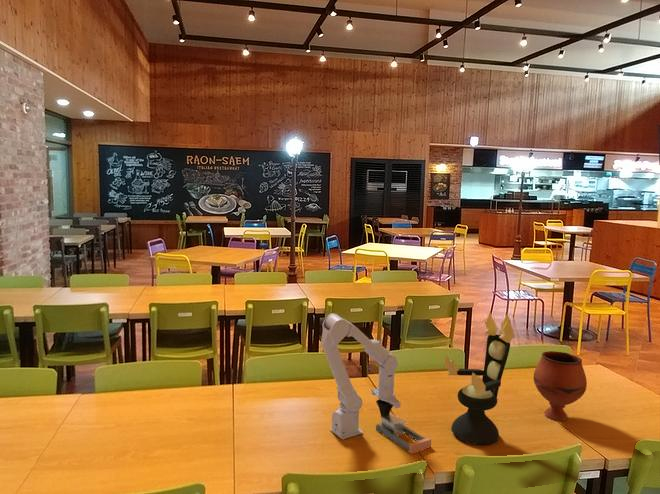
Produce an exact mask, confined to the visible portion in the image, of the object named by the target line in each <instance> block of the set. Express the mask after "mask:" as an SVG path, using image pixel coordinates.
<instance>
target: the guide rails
mask: <svg viewBox="0 0 660 494" xmlns="http://www.w3.org/2000/svg"><path fill="white" fill-rule="evenodd" d="M377 430H378V431H379V432H378V431H377ZM375 431H377V432H378V433H380V432H381V433H382V434H381V433H380V434H381V435H383V434H384V435H385V436H384V435H383V436H384V437H386V436H387V437H388V438H387V437H386V438H387V439H389V438H390V439H391V440H390V439H389V440H390V441H392V440H393V441H394V442H393V441H392V442H393V443H395V442H396V443H397V444H396V443H395V444H396V445H398V444H399V445H400V446H399V445H398V446H399V447H401V446H402V447H403V448H402V447H401V448H402V449H404V448H405V449H406V450H408V451H409V452H410V453H409V452H408V451H407V452H408V453H409V454H411V453H414V454H416V453H415V452H417V451H419V452H421V451H420V450H422V449H425V448H428V447H430V446H431V447H432V438H430V437H426V438H425V437H424V436H422V435H421V434H419V433H417V432H415V431H414V430H413V429H411V428H409V427H407V426H406V425H404V432H405V433H406V434H405V433H404V434H405V435H407V434H408V435H410V436H411V437H413V438H415V439H416V440H418V441H416V440H415V441H414V442H411V443H409V442H407V441H405V440H404V439H402V438H401V437H400V436H396V435H395V434H393V433H392V432H390V431H389V430H387V429H386V428H384V427H382V426H381V424H380V423H379V424H376V426H375ZM408 435H407V436H408ZM410 436H409V437H410ZM411 437H410V438H411ZM413 438H412V439H413ZM405 449H404V450H405ZM428 449H429V448H428ZM406 450H405V451H406ZM425 450H426V449H425ZM422 451H423V450H422ZM417 453H418V452H417Z"/></svg>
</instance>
